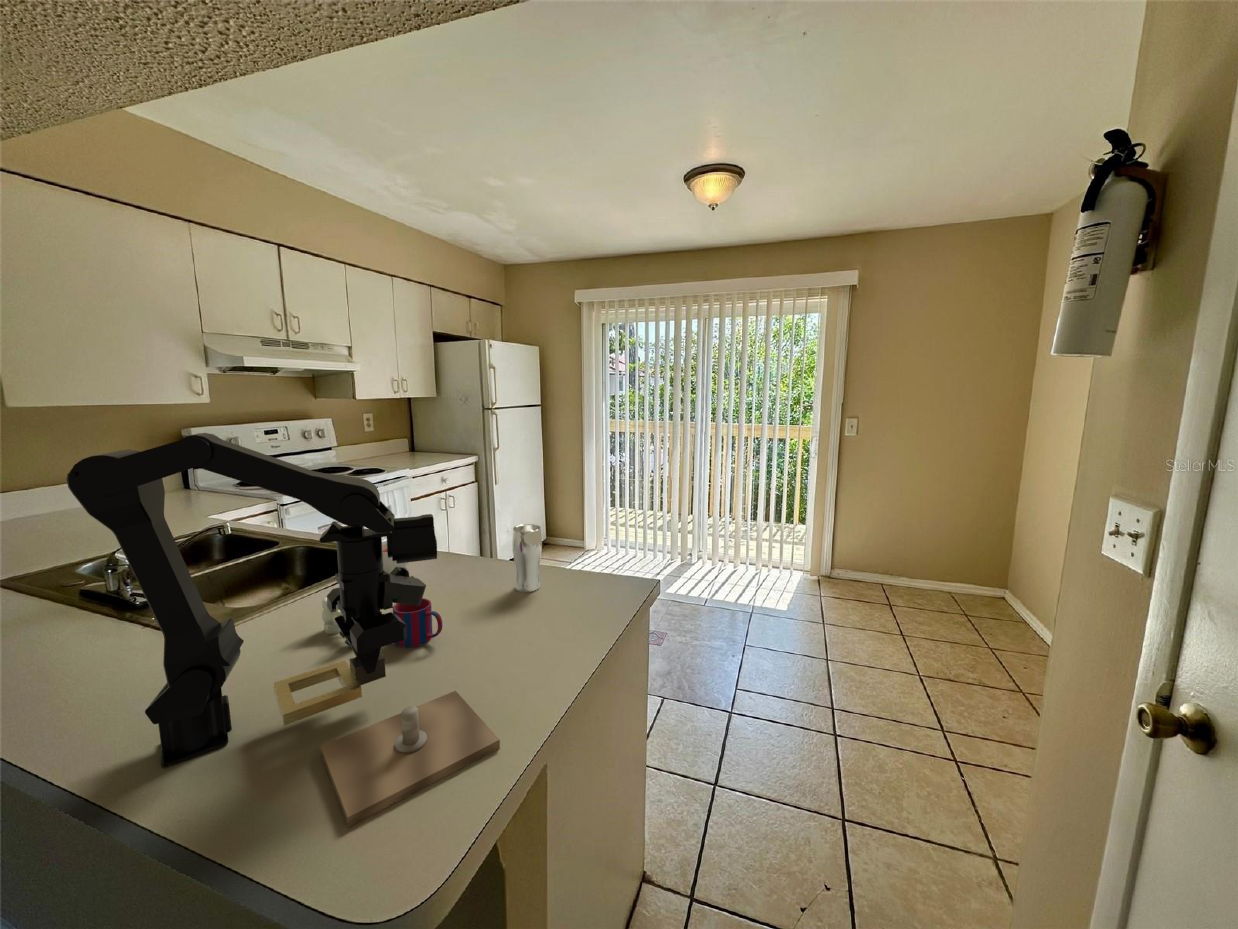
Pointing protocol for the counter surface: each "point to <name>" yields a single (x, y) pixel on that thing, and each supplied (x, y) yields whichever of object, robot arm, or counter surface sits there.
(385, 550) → the candle
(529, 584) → the beer glass
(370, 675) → the brass link
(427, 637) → the mug
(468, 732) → the plate
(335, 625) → the valve
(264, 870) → the counter surface
